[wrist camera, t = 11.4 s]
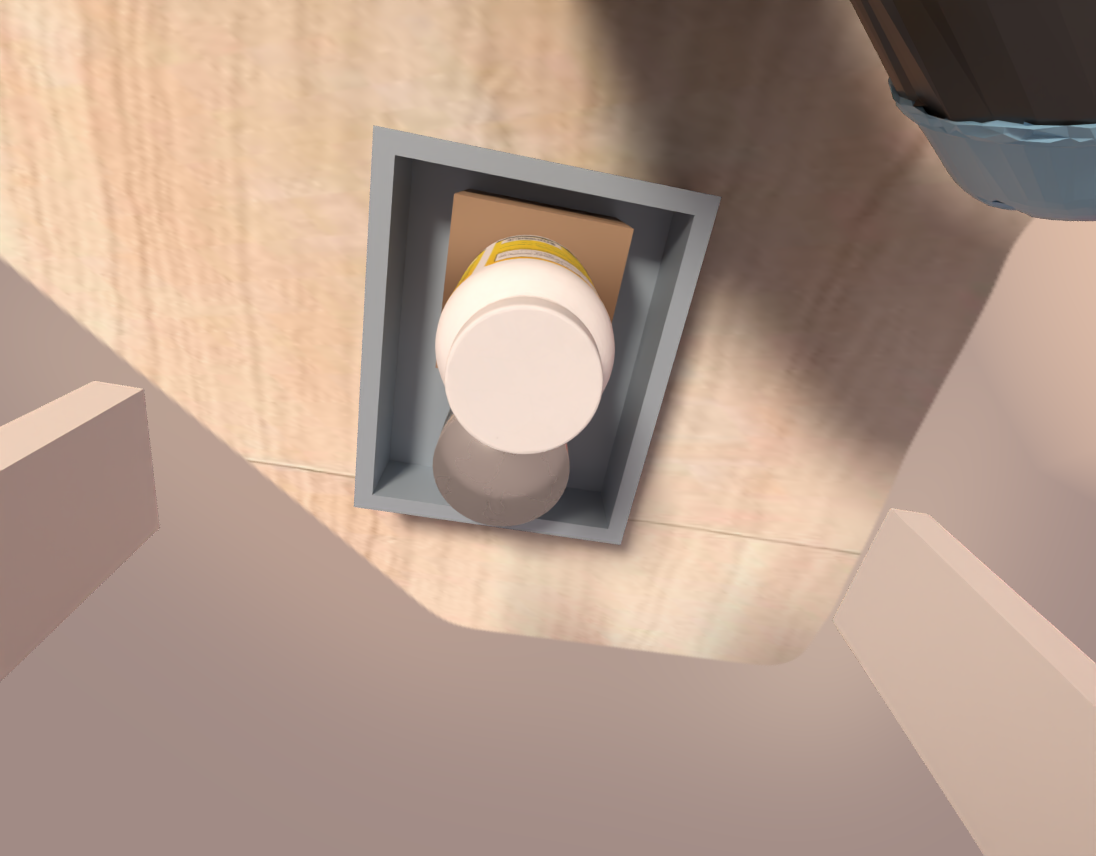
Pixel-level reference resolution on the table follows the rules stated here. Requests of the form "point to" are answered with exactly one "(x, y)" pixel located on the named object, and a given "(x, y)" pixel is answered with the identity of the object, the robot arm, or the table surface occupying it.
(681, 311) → the crate
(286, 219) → the table surface
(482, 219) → the walnut block
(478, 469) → the metal tin
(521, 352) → the pill bottle
